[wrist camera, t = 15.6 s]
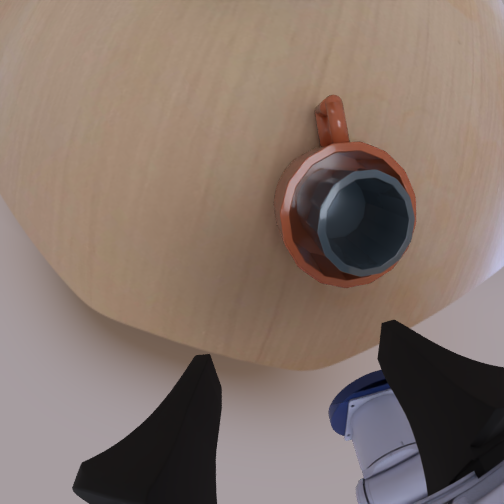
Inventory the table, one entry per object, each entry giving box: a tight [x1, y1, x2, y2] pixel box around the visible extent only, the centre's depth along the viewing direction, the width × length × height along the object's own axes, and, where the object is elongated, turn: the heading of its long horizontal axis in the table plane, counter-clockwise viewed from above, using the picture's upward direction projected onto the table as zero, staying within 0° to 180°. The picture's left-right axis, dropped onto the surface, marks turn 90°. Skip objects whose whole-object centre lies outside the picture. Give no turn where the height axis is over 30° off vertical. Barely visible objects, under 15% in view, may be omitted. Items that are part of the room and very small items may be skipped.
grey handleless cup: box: [297, 167, 415, 277], centre depth 15 cm, size 5×5×6 cm
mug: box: [274, 95, 416, 288], centre depth 16 cm, size 11×8×5 cm
